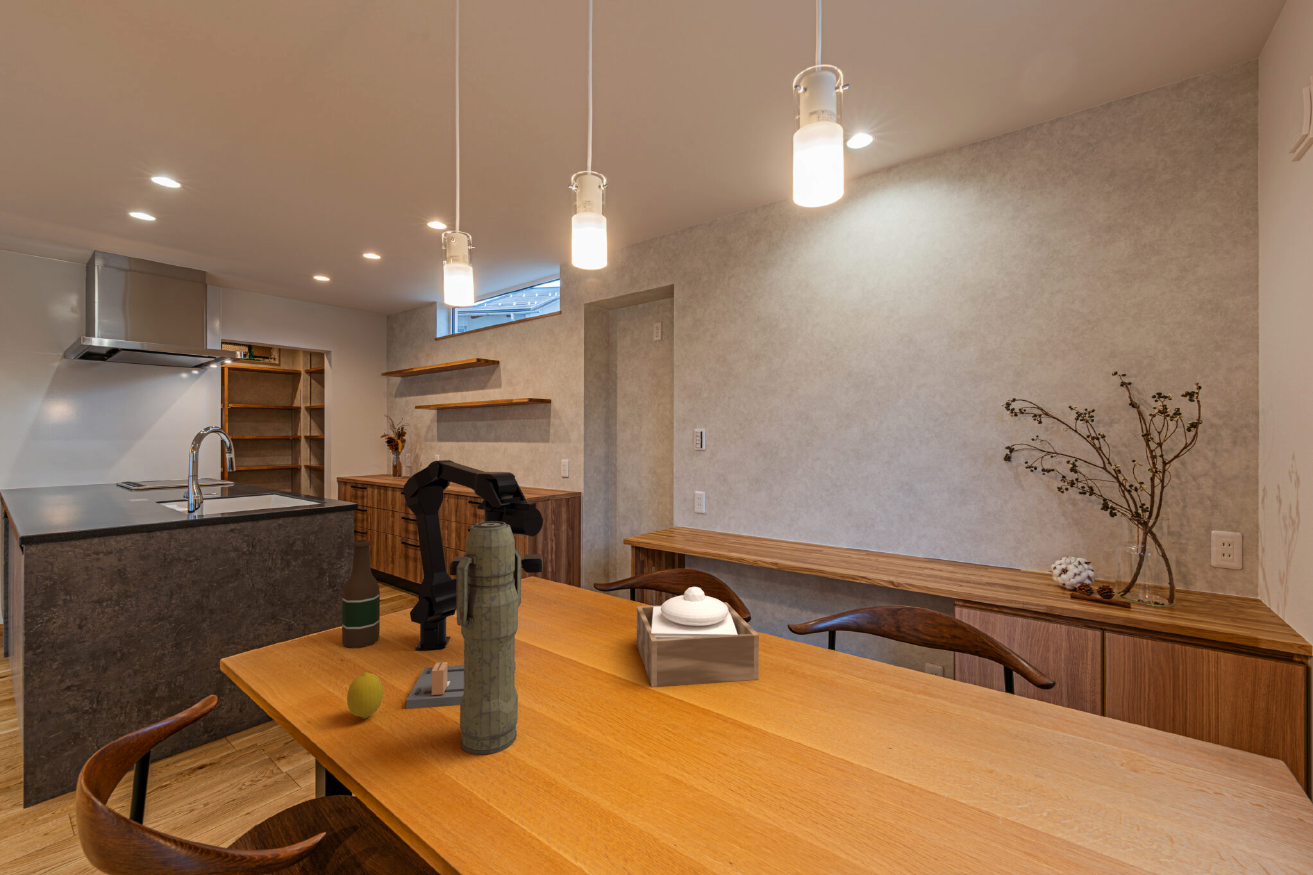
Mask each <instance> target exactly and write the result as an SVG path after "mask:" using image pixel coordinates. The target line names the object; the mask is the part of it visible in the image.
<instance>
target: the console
mask: <svg viewBox="0 0 1313 875" xmlns="http://www.w3.org/2000/svg"><path fill="white" fill-rule="evenodd" d="M516 663H517V662H516V661H515V670H516ZM433 668H434V666H427V667H424V669H423V670H422V672H421V674H420V676H419V677H418V679H417V681H416V682H415V684H414V686H413V688H412V689H411V691H410V693H409V694H408V696H407V698H406V699H405V702H406V703H405V709H417V708H418V709H419V708H432V707H433V708H434V707H445V706H460V702H461V699H462V697H463V694H464V664H460V665H447V687H446V689H445V691H444V694H439V695H432V670H433Z"/></svg>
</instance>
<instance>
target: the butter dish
mask: <svg viewBox="0 0 1313 875" xmlns="http://www.w3.org/2000/svg"><path fill="white" fill-rule="evenodd" d="M724 603H725V602H723V601H721V600H719V599H718V598H715V597H713V596H712V597H711V596H708V595H705V592H704V590H702V588H701V587H698V586H692V587H688V588H687V589H686V590H684V593H683V594H681V595H678V596H674V597H671V598H669V599H667V600H666V601H664V602H663V603H662V604H661V605H662V606H661V607H653V618H652V630H651V633H654V635H655V637H656V639H669V638H687V637H705V636H723V635H738V634H737V631H736V628H735V625H734V623H733V620H732V617H731V614H730V613H729V611H728V607H727V606H726V605H725V604H724Z"/></svg>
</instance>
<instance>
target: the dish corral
mask: <svg viewBox="0 0 1313 875" xmlns="http://www.w3.org/2000/svg"><path fill="white" fill-rule="evenodd" d="M723 603H724V604H725V605H726V606H727V607H728V611H729V613H730V614H731V617H732V620H733V623H734V625H735V628H736V631H737V634H738V635H723V636H705V637H687V638H669V639H656V637H655V635H654V633H651V630H652V618H653V607H661V606H662V604H661V605H640V606H636V648H637V650H638V653H639V655H640V658H641V660H642V664H643V666H644V669H645V672H646V675H647V678H648V681H649V683H650V686H651V688H657V687H658V688H659V687H671V686H685V685H686V686H687V685H699V684H700V685H701V684H712V683H713V684H715V683H728V682H742V681H753V680H754V681H755V680H759V671H760V670H759V667H760V666H759V663H760V662H759V661H760V660H759V657H760V656H759V655H760V652H759V649H760V644H759V643H760V635H759V634H758V633H757V632H756V631H755V629H753V627H752V626H750V625H749V624H748V622H746V621H745V619H743V618H742V617H741V615H740V614H739V613H738V612H737V611H735V609H734V608H733V607H732V606H731V605H730V604H729V603H728V602H723Z"/></svg>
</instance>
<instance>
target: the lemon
mask: <svg viewBox="0 0 1313 875" xmlns="http://www.w3.org/2000/svg"><path fill="white" fill-rule="evenodd" d="M346 696H347V697H346V703H347V707H348V710H349V711H350V713H351V714H352V715H353V716H355V717H357V718H358V717H359V718H360V717H361V718H362V719H363V720H365V719H368V717H370V716H371V715H373V714H374V713H375V712H376V711H377V710H378V709H379V708H380V706H381V704H382V702H383V698H384V686H383V683H382V681H381V679H380V677H379V676H377V675H376V674H374V673H370V672H368V671H363V672H362V674H359V675H358V676H357V677H355V678H354V679H353V680H352V682H351V683H350V685H349V687H348V690H347V694H346Z"/></svg>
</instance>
